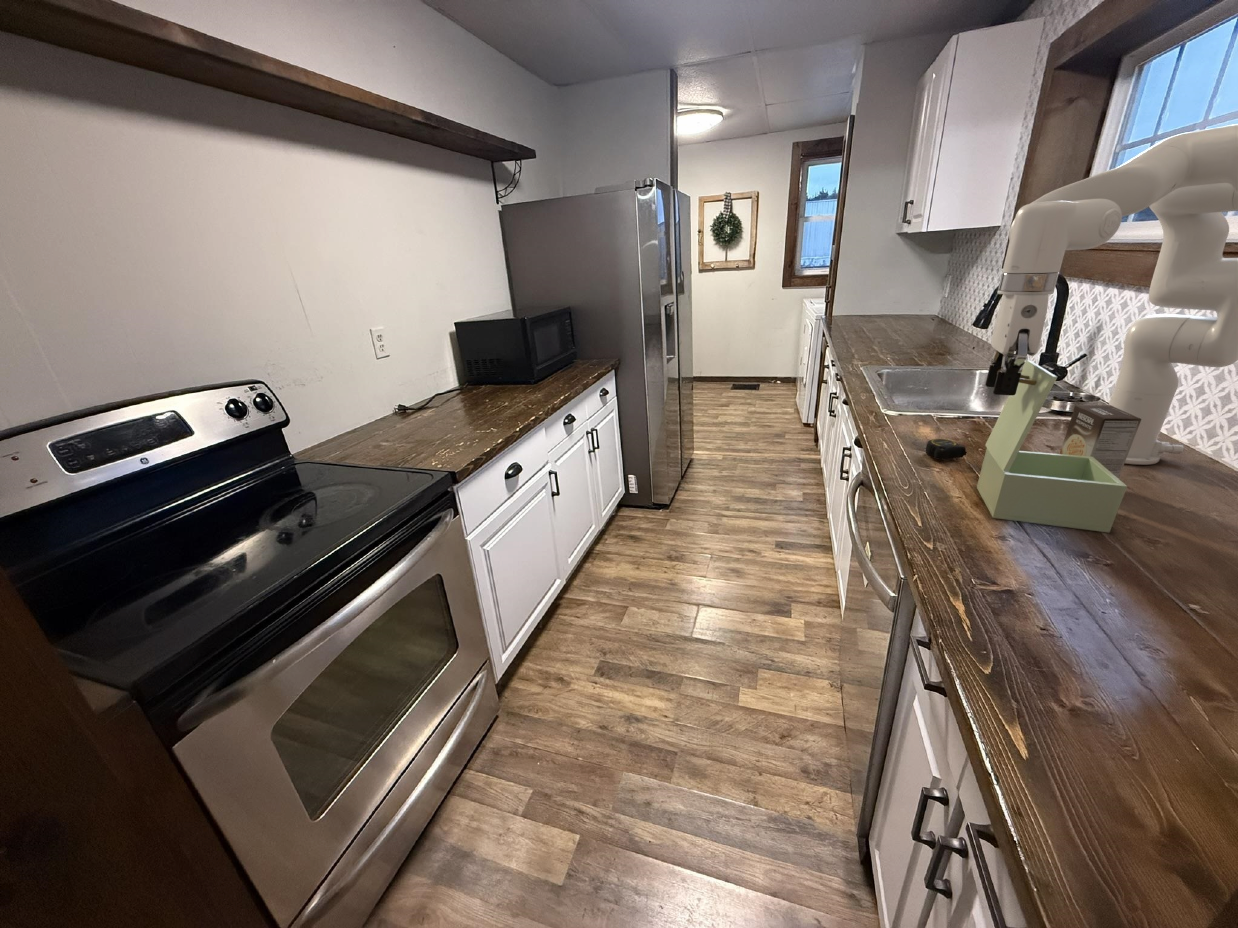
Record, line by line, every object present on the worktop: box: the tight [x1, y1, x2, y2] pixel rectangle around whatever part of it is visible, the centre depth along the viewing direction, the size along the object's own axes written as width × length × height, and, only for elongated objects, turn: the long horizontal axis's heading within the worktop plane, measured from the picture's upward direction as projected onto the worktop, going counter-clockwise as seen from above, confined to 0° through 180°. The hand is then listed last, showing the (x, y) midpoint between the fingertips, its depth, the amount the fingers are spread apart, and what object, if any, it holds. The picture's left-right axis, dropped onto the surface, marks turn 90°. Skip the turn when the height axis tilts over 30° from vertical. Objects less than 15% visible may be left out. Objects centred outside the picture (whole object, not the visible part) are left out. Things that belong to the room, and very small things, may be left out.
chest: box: [976, 448, 1128, 534], centre depth 93 cm, size 17×14×9 cm
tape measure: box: [925, 438, 968, 461], centre depth 118 cm, size 7×7×4 cm
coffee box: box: [1059, 404, 1142, 480], centre depth 99 cm, size 9×6×16 cm
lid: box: [984, 359, 1058, 472], centre depth 91 cm, size 18×14×6 cm
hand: (999, 389), depth 90 cm, fingers closed on lid, 5 cm apart
